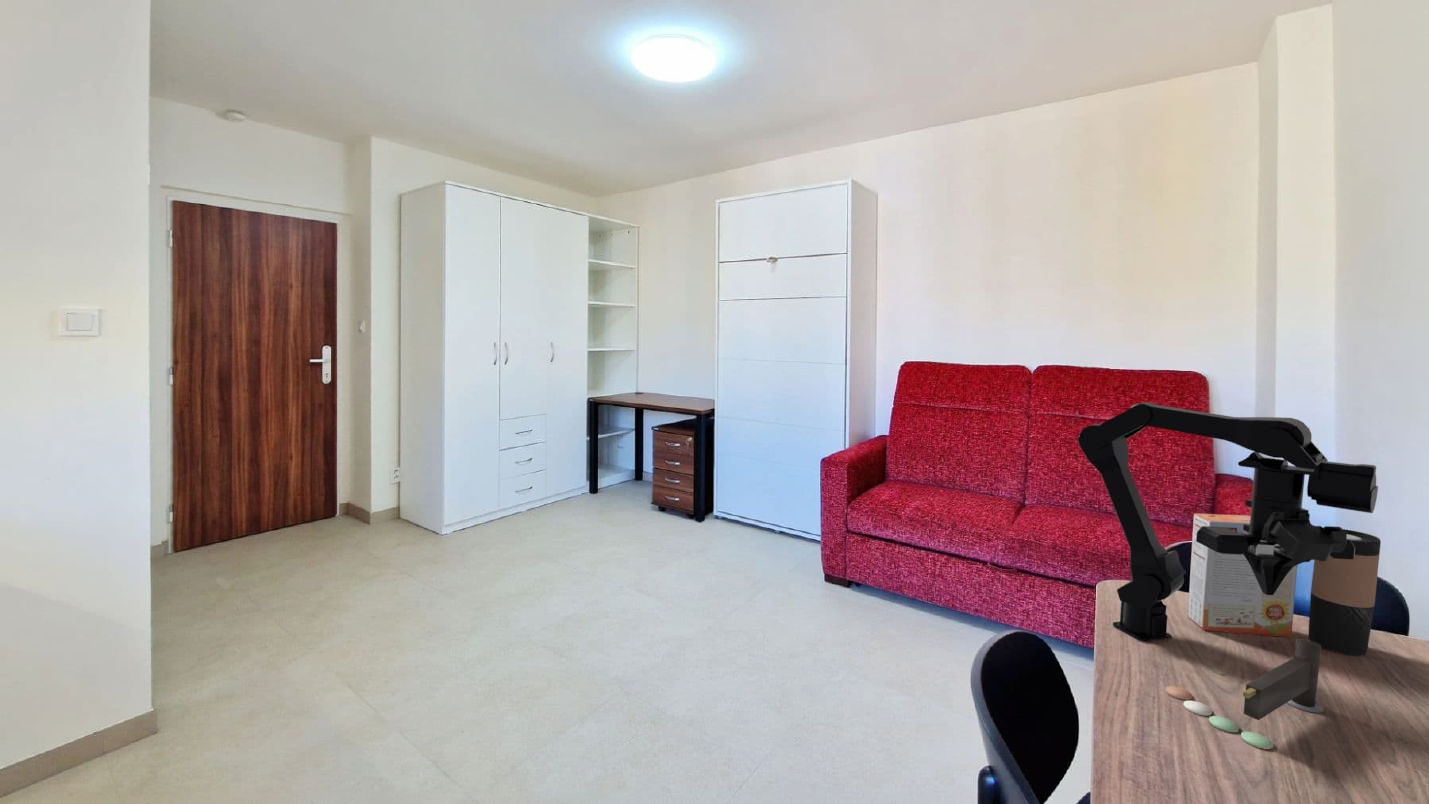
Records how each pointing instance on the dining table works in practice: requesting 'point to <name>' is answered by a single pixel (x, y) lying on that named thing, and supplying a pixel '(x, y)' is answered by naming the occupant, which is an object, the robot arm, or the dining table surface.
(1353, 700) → the dining table surface
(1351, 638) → the travel mug
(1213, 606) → the cracker box
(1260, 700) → the hammer
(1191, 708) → the pebbles
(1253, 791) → the dining table surface
